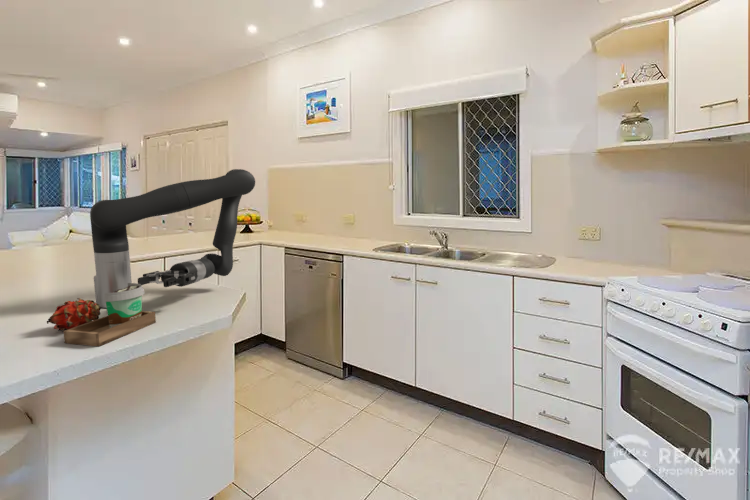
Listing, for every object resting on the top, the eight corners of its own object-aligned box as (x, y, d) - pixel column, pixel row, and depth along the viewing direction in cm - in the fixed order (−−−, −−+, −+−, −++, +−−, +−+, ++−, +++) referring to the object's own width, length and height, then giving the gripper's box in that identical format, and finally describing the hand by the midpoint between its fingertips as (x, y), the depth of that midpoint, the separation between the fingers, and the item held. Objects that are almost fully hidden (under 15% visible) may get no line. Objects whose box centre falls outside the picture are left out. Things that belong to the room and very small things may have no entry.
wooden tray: (64, 343, 94) (63, 331, 93) (125, 320, 111) (124, 309, 110) (99, 346, 92) (98, 334, 91) (155, 322, 109) (155, 311, 109)
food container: (133, 332, 99) (129, 293, 98) (106, 332, 98) (103, 293, 97) (154, 316, 111) (152, 282, 110) (131, 317, 111) (128, 282, 109)
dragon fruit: (107, 328, 109) (54, 347, 100) (93, 306, 112) (41, 323, 103) (108, 308, 104) (53, 326, 95) (93, 286, 107) (38, 302, 98)
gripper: (168, 260, 130) (129, 268, 115) (207, 262, 128) (172, 271, 112) (169, 282, 131) (131, 294, 116) (208, 285, 129) (174, 297, 113)
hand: (151, 282), depth 114 cm, fingers open, 8 cm apart
